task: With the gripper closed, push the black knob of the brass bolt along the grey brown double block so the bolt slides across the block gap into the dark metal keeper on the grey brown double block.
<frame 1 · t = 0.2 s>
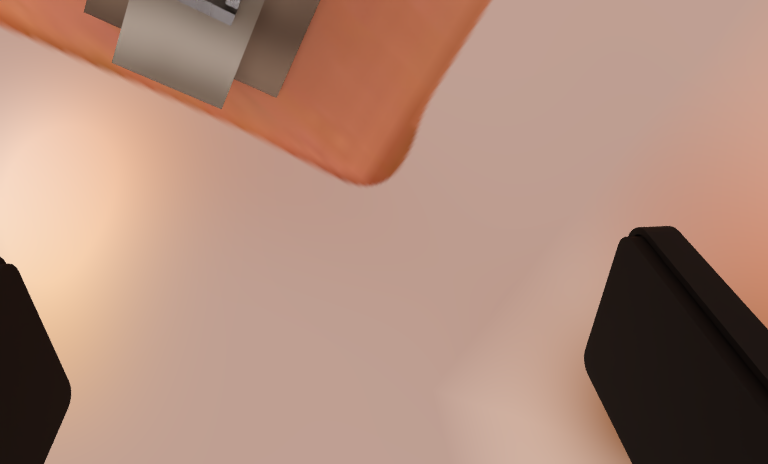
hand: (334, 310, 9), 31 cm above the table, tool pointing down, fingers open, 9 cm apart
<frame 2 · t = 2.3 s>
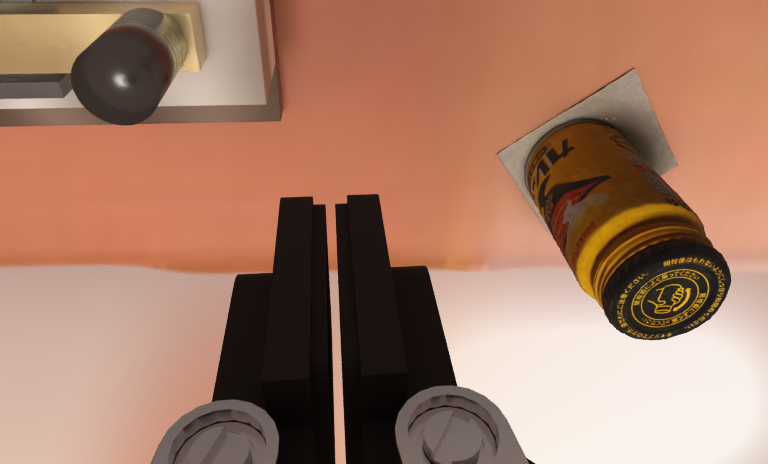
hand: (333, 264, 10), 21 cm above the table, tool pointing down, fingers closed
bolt: (61, 56, 18), point 9 cm above the table, slide at 0.0 cm
condiment: (586, 156, 34), on the table
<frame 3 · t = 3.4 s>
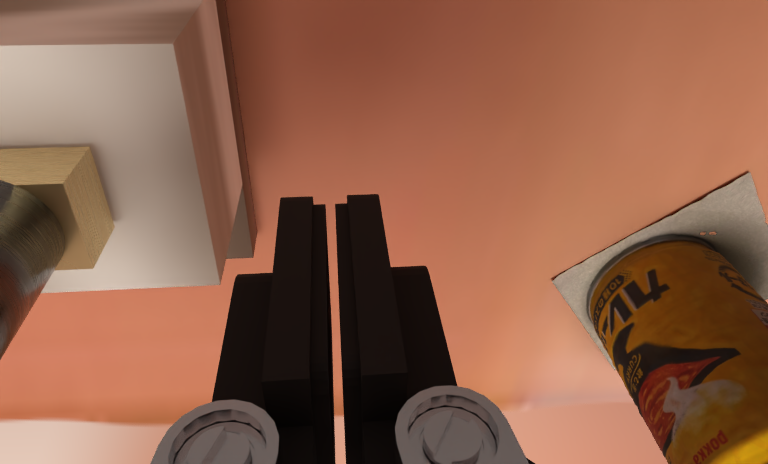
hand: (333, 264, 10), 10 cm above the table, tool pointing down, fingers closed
condiment: (669, 277, 25), on the table
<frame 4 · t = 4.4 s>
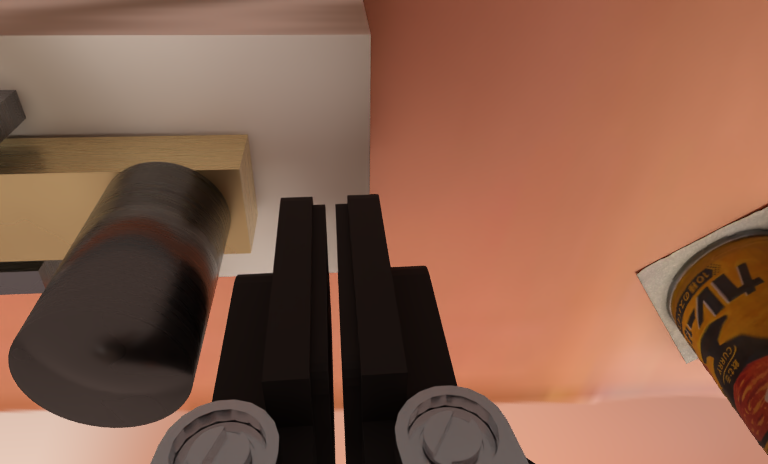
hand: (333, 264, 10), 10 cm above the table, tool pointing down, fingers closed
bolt: (5, 259, 10), point 9 cm above the table, slide at 0.6 cm, touching gripper
condiment: (748, 271, 25), on the table
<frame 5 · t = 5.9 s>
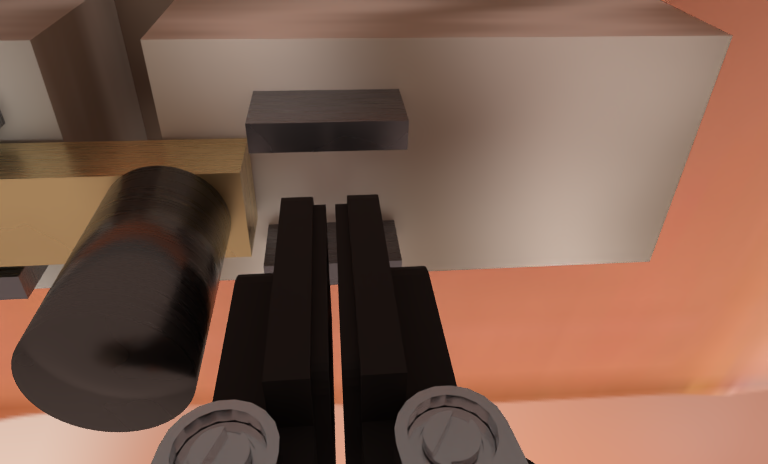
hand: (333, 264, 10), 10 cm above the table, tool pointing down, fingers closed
lock hardware: (65, 199, 12), on the grey brown double block, point 7 cm above the table
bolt: (6, 264, 10), point 9 cm above the table, slide at 8.2 cm, touching gripper
grey brown double block: (182, 75, 18), on the table
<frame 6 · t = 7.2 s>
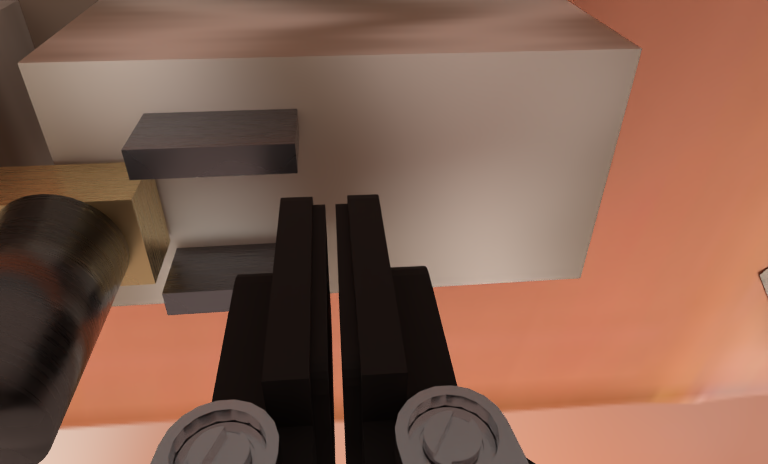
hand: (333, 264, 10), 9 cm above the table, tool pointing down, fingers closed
grey brown double block: (108, 91, 17), on the table
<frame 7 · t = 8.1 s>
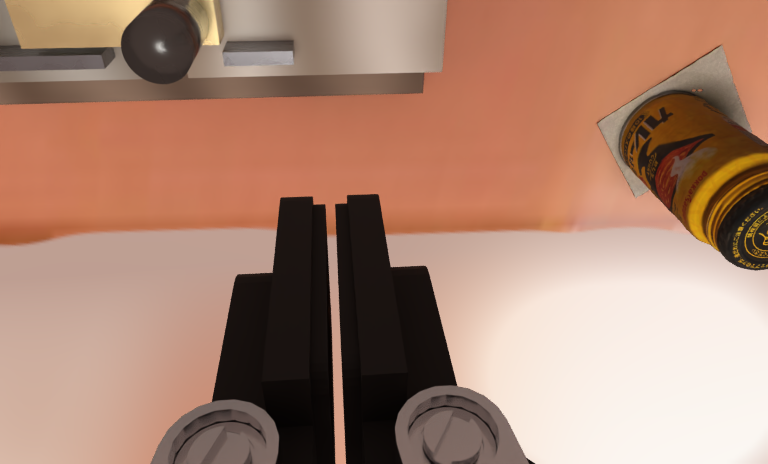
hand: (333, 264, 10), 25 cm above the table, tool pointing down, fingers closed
lock hardware: (124, 16, 24), on the grey brown double block, point 7 cm above the table
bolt: (106, 30, 22), point 9 cm above the table, slide at 8.0 cm
condiment: (672, 124, 38), on the table
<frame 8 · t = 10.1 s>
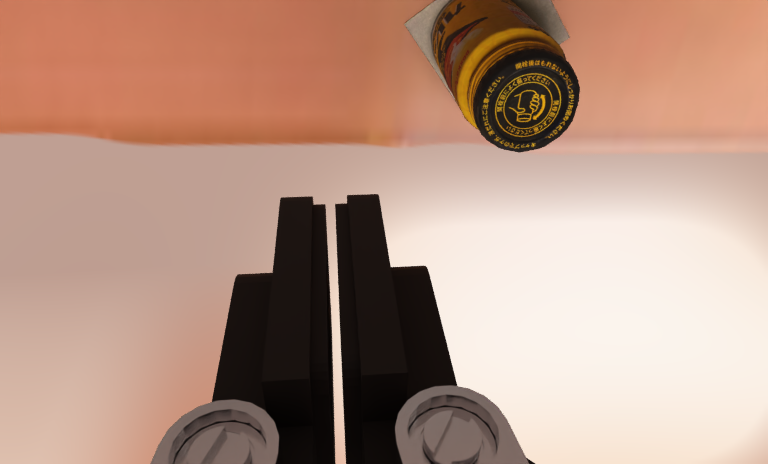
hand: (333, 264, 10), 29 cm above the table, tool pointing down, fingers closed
condiment: (486, 28, 37), on the table
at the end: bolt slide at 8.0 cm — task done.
